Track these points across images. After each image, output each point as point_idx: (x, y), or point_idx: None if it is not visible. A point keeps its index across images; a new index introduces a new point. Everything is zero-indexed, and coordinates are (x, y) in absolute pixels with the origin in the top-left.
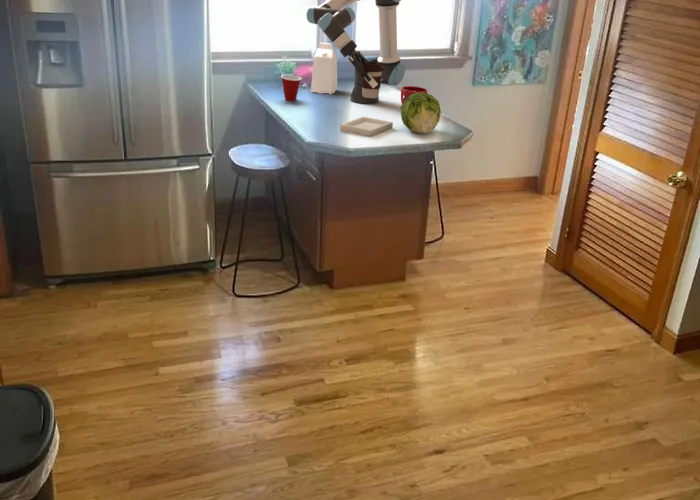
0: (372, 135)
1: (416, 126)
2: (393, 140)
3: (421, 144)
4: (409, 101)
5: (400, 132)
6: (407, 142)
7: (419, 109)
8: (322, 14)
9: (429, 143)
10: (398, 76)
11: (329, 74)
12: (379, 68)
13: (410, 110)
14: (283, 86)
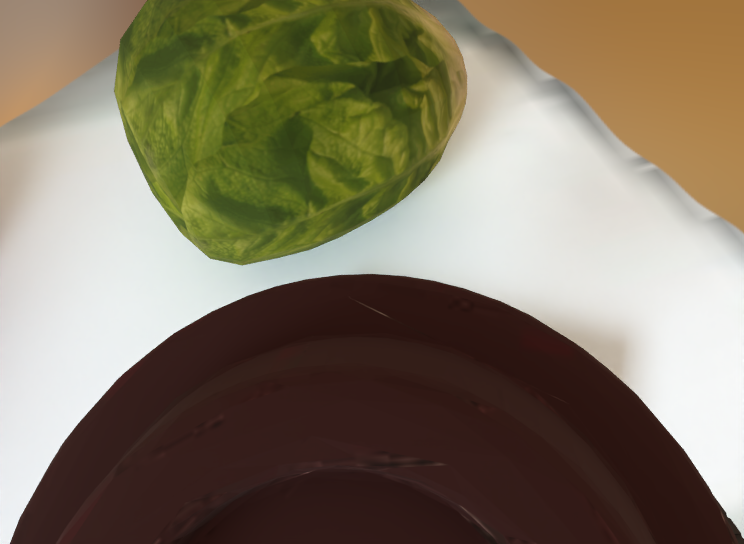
0: None
1: (458, 120)
2: (583, 239)
3: (567, 99)
4: (337, 119)
5: (389, 254)
6: (575, 165)
7: (434, 44)
8: None
9: (524, 73)
10: None
11: None
12: (524, 327)
13: (425, 117)
14: None
